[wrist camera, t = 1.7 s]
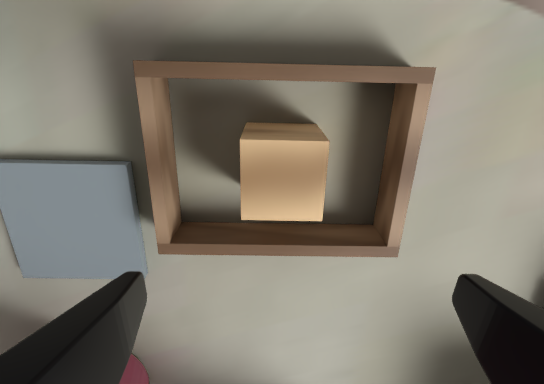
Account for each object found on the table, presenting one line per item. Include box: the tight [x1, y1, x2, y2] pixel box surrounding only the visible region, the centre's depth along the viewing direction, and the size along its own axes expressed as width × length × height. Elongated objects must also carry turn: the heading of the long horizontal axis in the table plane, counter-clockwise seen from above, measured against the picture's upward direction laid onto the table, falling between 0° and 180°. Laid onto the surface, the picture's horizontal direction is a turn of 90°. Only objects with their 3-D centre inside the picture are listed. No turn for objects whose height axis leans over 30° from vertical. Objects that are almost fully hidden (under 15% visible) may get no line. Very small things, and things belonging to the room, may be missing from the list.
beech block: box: [240, 122, 330, 221], centre depth 19 cm, size 4×4×5 cm
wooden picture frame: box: [133, 60, 436, 257], centre depth 20 cm, size 12×16×3 cm
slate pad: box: [0, 159, 148, 279], centre depth 22 cm, size 9×9×1 cm
